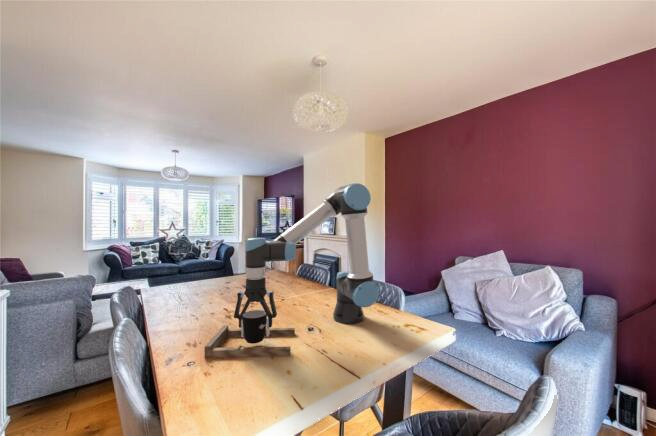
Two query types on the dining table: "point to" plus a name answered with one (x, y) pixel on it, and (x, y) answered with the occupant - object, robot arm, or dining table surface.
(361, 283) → the robot arm
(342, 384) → the dining table surface
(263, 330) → the mug
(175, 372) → the dining table surface
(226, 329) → the frame
